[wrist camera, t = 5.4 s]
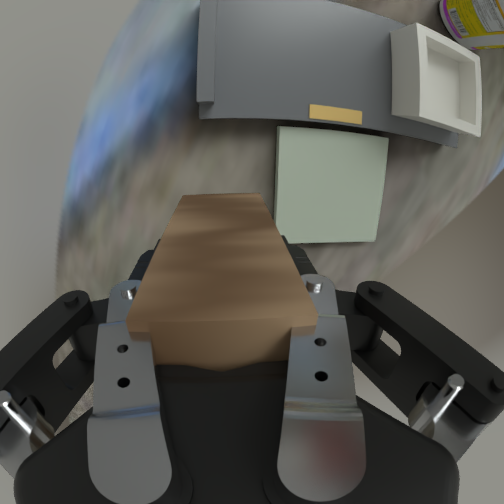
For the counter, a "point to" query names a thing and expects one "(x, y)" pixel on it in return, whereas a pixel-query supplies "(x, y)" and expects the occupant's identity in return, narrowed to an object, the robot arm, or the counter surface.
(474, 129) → the tab
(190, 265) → the peg
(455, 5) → the supplement bottle
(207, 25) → the switch panel
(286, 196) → the tool rest
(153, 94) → the counter surface
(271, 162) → the counter surface
